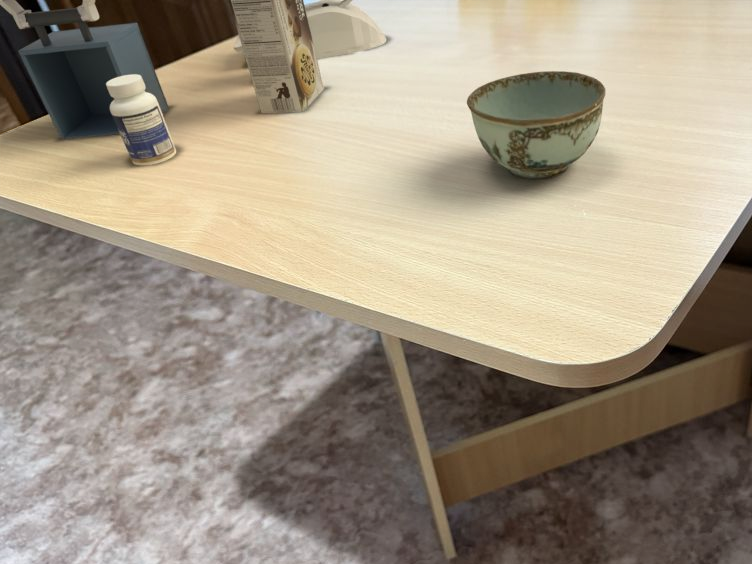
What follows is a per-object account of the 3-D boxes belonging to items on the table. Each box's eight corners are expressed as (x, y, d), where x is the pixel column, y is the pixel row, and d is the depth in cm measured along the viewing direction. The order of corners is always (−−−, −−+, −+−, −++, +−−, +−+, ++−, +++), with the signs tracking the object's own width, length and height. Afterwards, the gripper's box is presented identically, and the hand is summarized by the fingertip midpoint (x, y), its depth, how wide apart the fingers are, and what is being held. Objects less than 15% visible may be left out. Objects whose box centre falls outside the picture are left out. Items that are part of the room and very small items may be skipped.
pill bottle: (134, 156, 87) (101, 77, 81) (178, 147, 88) (148, 69, 82) (131, 172, 83) (96, 91, 77) (177, 162, 84) (145, 81, 78)
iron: (247, 54, 120) (219, -43, 111) (384, 33, 121) (368, -65, 112) (241, 73, 112) (210, -31, 102) (389, 50, 113) (371, -55, 104)
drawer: (170, 110, 100) (145, 134, 93) (92, 118, 101) (62, 142, 94) (125, -9, 90) (94, 8, 83) (39, 1, 91) (1, 18, 84)
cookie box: (284, 93, 101) (252, -30, 91) (326, 91, 100) (297, -34, 90) (260, 116, 94) (221, -14, 84) (304, 115, 93) (270, -18, 83)
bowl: (632, 169, 70) (637, 89, 65) (528, 213, 65) (523, 131, 60) (548, 133, 80) (546, 61, 75) (450, 170, 74) (441, 95, 69)
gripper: (-102, -93, 76) (-32, 39, 85) (73, -116, 74) (126, 22, 83) (-66, -100, 81) (-3, 25, 89) (99, -122, 79) (147, 9, 88)
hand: (60, 24), depth 86 cm, fingers closed on drawer, 7 cm apart
